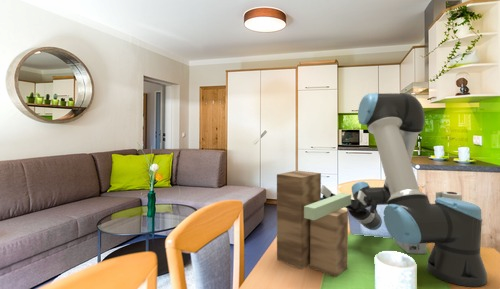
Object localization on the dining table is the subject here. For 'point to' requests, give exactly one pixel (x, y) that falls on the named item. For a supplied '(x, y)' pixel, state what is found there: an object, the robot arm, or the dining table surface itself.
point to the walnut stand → (309, 226)
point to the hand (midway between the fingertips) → (339, 191)
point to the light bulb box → (413, 247)
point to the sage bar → (326, 206)
